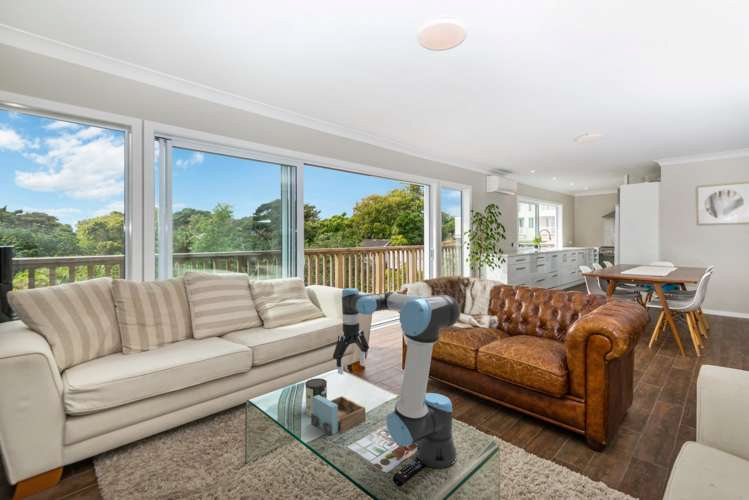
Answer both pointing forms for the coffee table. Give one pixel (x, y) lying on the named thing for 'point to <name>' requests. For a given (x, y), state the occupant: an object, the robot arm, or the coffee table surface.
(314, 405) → the door
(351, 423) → the cabinet
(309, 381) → the coffee can
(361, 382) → the coffee table surface
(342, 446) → the coffee table surface
